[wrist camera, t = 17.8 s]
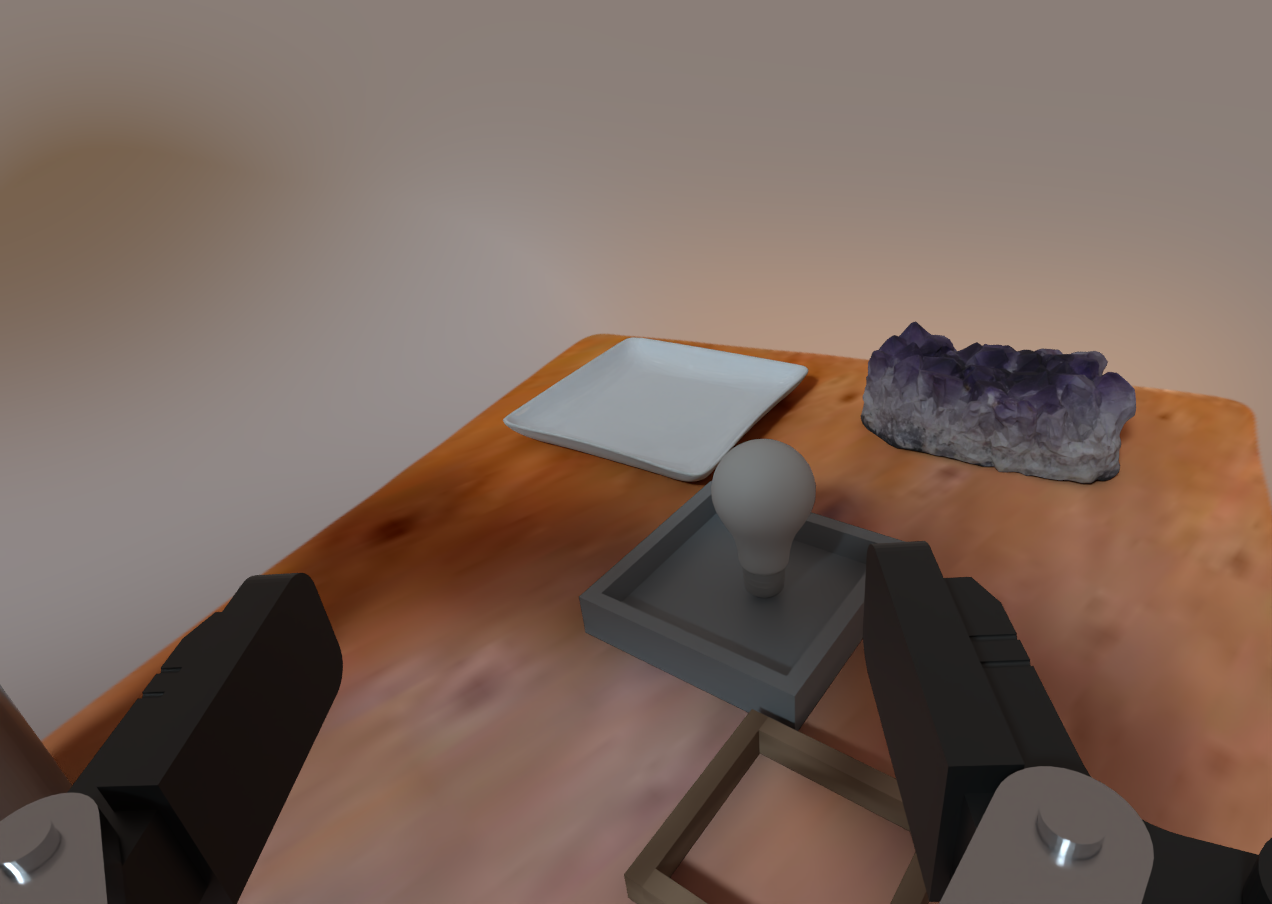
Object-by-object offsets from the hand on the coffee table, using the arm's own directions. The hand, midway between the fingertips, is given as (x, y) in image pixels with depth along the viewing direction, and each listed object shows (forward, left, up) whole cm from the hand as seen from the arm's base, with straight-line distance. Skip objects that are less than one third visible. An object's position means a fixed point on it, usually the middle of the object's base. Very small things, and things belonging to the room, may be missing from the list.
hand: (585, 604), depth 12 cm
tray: (-15, +27, -28) cm, 42 cm away
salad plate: (-35, +45, -29) cm, 64 cm away
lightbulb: (-14, +28, -27) cm, 41 cm away
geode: (-9, +54, -28) cm, 62 cm away
